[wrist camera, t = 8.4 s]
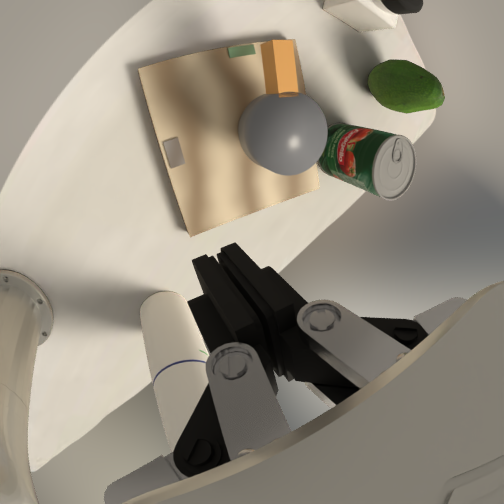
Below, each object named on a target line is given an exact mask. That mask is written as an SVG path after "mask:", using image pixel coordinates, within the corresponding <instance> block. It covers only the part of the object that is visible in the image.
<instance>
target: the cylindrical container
mask: <svg viewBox="0 0 504 504" xmlns="http://www.w3.org/2000/svg"><path fill="white" fill-rule="evenodd" d="M140 320H141V326H142V332H143V338H144V344H145V349H146V354H147V359H148V364H149V369H150V373H151V378H152V382H153V387H154V391H155V395H156V399H157V404H158V408H159V411H160V415H161V419H162V423H163V426H164V430H165V433H166V437H167V440H168V443H169V447H170V450H171V453H172V452H173V451H174V448H175V445H176V443H177V441H178V440H179V438H180V436H181V434H182V432H183V430H184V428H185V426H186V425H187V423H188V421H189V419H190V417H191V415H192V413H193V411H194V409H195V408H196V406H197V404H198V402H199V400H200V398H201V396H202V394H203V392H204V390H205V388H206V386H207V384H208V383H209V382H208V378H207V374H206V361H207V359H208V357H209V354H208V351H207V349H206V347H205V344H204V342H203V339H202V337H201V335H200V332H199V330H198V327H197V325H196V322H195V320H194V317H193V315H192V312H191V310H190V308H189V306H188V303H187V301H186V299H185V298H184V297H183V296H181V295H180V294H178V293H175V292H170V291H164V292H158V293H155V294H153V295H151V296H150V297H148V298H147V299H146V300H145V301H144V302H143V304H142V305H141V308H140Z"/></svg>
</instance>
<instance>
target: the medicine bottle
mask: <svg viewBox="0 0 504 504" xmlns="http://www.w3.org/2000/svg"><path fill="white" fill-rule="evenodd" d="M422 6H423V0H325V2H324V5H323V10H325V11H326V12H328V13H330V14H331V15H333V16H335V17H336V18H338V19H340V20H341V21H343V22H345V23H346V24H348V25H349V26H351V27H352V28H354V29H355V30H357V31H358V32H366V31H373V30H382V29H392V28H395V27H396V23H397V18H398V14H407V13H417V12H419V11H420V10H421V8H422Z"/></svg>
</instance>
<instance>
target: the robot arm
mask: <svg viewBox="0 0 504 504" xmlns="http://www.w3.org/2000/svg"><path fill="white" fill-rule="evenodd" d="M217 258H218V261H219V263H218V262H217V260H216V259H215V258H214V256H211V257H208V256H207V255H206V254H205V255H203V256H200V257H198V258H196V259H193V260H192V263H193V266H194V269H195V271H196V274H197V277H198V280H199V282H200V285H201V288H202V290H203V293H204V294H203V295H201V296H199V297H196V298H194V299H192V300H189V301H187V303H188V306H189V308H190V310H191V312H192V315H193V317H194V319H195V321H196V324H197V326H198V328H199V330H200V332H201V334H202V337H203V339H204V341H205V343H206V345H207V347H208V349H209V351H210V353H211V354H210V355H209V357H208V359H207V361H206V374H207V378H208V382H209V383H208V384H207V386H206V388H205V390H204V392H203V394H202V396H201V398H200V400H199V402H198V404H197V406H196V408H195V409H194V411H193V413H192V415H191V417H190V419H189V421H188V423H187V425H186V426H185V428H184V430H183V432H182V434H181V436H180V438H179V440H178V441H177V443H176V445H175V448H174V451H173V452H172V453H170V454H168V455H167V456H165V457H164V456H163V455H161V456H159V457H158V458H156V459H154V460H153V461H151V462H149V463H147V464H146V465H144V466H142V467H140V468H139V469H137V470H135V471H133V472H131V473H130V474H128V475H126V476H124V477H122V478H120V479H119V480H117V481H115V482H113V483H112V484H110V485H109V486H108V487H107V489H106V491H105V494H104V501H105V504H504V281H501V282H498V283H495V284H492V285H490V286H488V287H486V288H484V289H482V290H480V291H479V292H477V293H476V294H474V295H473V296H472V297H470V298H469V299H468V300H466V299H463V298H458V297H455V298H451V299H449V300H447V301H445V302H443V303H441V304H439V305H437V306H435V307H433V308H431V309H429V310H427V311H425V312H423V313H421V314H419V315H416V316H414V319H413V320H407V319H390V318H370V317H359V316H357V315H356V314H354V313H352V312H351V311H349V310H348V309H346V308H345V307H343V306H342V305H340V304H338V303H336V302H334V301H330V300H316V301H312V302H310V303H308V302H306V301H305V300H304V299H303V298H302V297H301V296H300V295H299V294H298V293H297V292H296V291H295V290H294V289H293V288H292V287H291V286H290V285H289V284H288V283H287V282H286V281H285V280H284V279H283V278H282V277H281V276H280V275H279V274H278V273H277V272H276V271H275V270H274V269H273V268H271V267H270V266H268V267H265V268H263V269H260V268H259V267H258V266H257V265H256V263H255V262H254V261H253V260H252V259H251V258H250V257H249V256H248V255H247V254H246V253H245V252H244V251H243V250H242V249H241V248H240V247H239V246H238V245H237V244H236V243H232V244H230V245H227V246H225V247H222V248H221V253H218V254H217ZM52 326H53V312H52V308H51V306H50V303H49V301H48V299H47V297H46V296H45V294H44V293H43V292H42V290H41V289H40V288H39V287H38V286H37V285H36V284H35V283H34V282H33V281H31V280H30V279H28V278H27V277H25V276H23V275H21V274H19V273H17V272H13V271H9V270H0V504H39V502H38V498H37V495H36V492H35V488H34V484H33V481H32V476H31V471H30V465H29V457H28V417H29V405H30V394H31V386H32V378H33V371H34V364H35V358H36V353H37V347H38V346H39V345H41V344H43V343H44V342H45V341H46V340H47V339H48V337H49V336H50V334H51V331H52ZM273 370H274V371H275V372H276V374H277V375H278V376H279V377H280V376H282V375H284V376H285V377H286V379H287V380H288V381H291V380H293V379H295V380H296V381H301V382H305V385H306V386H307V387H308V388H309V389H310V390H311V391H312V392H313V393H314V394H315V395H317V396H318V397H319V398H320V399H321V400H322V401H323V402H324V403H325V404H327V405H328V406H329V407H330V408H331V409H330V410H328V411H327V412H325V413H323V414H322V415H320V416H318V417H317V418H315V419H313V420H312V421H310V422H308V423H306V424H305V425H303V426H301V427H299V428H298V429H296V430H294V431H291V429H290V427H289V425H288V423H287V420H286V419H285V416H284V414H283V412H282V409H281V407H280V405H279V403H278V400H277V398H276V395H277V392H278V387H277V383H276V379H275V375H274V371H273Z"/></svg>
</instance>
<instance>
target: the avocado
mask: <svg viewBox="0 0 504 504" xmlns="http://www.w3.org/2000/svg"><path fill="white" fill-rule="evenodd" d="M368 86H369V89H370V91H371V93H372V95H373V96H374V97H375V98H376V100H377V101H378V102H379V103H380V104H381V105H382V106H384V107H386V108H389V109H391V110H394V111H398V112H402V113H412V112H417V111H422V110H429V109H434V108H437V107H439V106H441V105H442V104H443V101H444V99H445V96H444V92H443V88H442V85H441V83H440V82H439V80H438V79H437V77H435V76H434V75H433V74H431V73H430V72H428V71H427V70H425V69H424V68H422V67H420V66H418V65H416V64H414V63H412V62H409V61H407V60H387V61H385V62H383V63H380V64H379V65H377V66H376V67H375V68H374V69H373V70H372V71H371V73H370V74H369V77H368Z"/></svg>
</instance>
